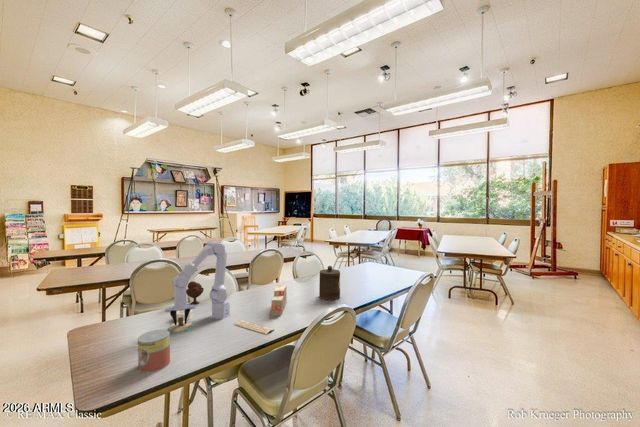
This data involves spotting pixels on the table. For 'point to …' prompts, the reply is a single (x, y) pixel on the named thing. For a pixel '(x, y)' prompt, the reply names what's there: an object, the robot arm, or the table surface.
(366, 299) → the table surface
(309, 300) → the table surface
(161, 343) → the canned food
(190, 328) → the mat
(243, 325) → the tan wooden plank
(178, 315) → the bowl
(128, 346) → the table surface
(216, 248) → the robot arm
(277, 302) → the stack of blocks
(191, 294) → the ice cream bowl
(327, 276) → the wooden container
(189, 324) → the cover
